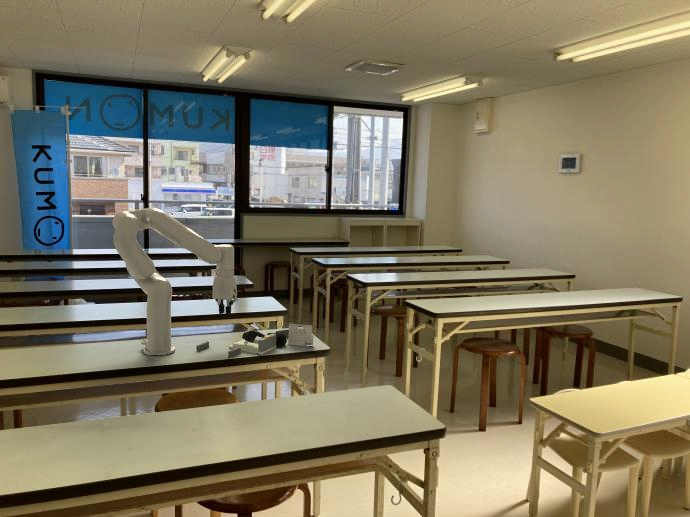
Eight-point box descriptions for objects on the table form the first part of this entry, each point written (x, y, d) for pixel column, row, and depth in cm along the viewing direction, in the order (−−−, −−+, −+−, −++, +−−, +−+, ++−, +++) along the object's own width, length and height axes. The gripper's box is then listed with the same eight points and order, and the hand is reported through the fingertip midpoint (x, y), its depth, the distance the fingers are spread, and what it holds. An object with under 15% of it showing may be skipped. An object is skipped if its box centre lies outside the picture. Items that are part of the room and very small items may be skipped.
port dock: (228, 348, 248) (228, 333, 247) (243, 341, 258) (243, 327, 257) (262, 354, 241) (262, 339, 240) (276, 347, 251) (276, 333, 250)
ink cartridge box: (289, 343, 258) (289, 322, 257) (313, 345, 256) (314, 324, 255) (287, 345, 255) (288, 323, 254) (312, 347, 253) (312, 325, 252)
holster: (196, 350, 243) (196, 345, 242) (206, 346, 249) (206, 341, 249) (230, 357, 236) (230, 351, 235) (240, 353, 242) (240, 347, 241)
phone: (288, 329, 279) (306, 335, 267) (288, 331, 279) (306, 337, 267) (274, 331, 274) (292, 337, 262) (274, 333, 274) (292, 340, 262)
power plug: (272, 339, 249) (247, 329, 245) (264, 355, 249) (239, 345, 245) (270, 335, 255) (245, 325, 250) (262, 350, 255) (237, 340, 250)
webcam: (287, 345, 255) (287, 332, 255) (280, 348, 250) (280, 336, 249) (270, 342, 259) (270, 329, 258) (262, 345, 254) (262, 333, 253)
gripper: (204, 272, 251) (204, 313, 253) (235, 276, 244) (235, 318, 247) (215, 269, 257) (215, 310, 260) (245, 273, 251) (245, 314, 253)
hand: (225, 313), depth 253 cm, fingers open, 2 cm apart
